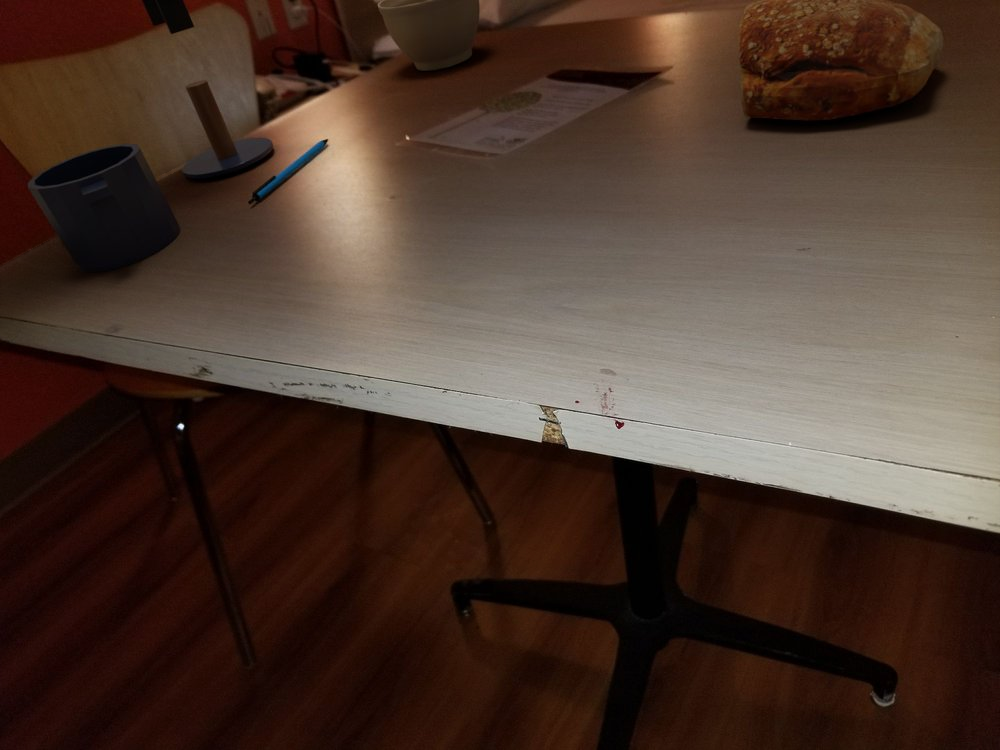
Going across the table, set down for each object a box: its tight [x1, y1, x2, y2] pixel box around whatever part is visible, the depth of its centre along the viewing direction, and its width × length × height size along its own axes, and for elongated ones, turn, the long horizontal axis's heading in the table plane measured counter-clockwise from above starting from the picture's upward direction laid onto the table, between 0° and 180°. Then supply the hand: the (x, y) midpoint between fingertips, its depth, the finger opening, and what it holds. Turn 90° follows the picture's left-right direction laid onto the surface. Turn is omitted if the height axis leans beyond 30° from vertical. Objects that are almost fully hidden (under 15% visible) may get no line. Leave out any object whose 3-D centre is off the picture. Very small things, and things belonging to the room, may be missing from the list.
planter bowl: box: [377, 0, 481, 72], centre depth 118 cm, size 16×16×11 cm
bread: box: [737, 0, 945, 122], centre depth 72 cm, size 20×18×10 cm
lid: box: [181, 79, 274, 179], centre depth 96 cm, size 12×12×11 cm
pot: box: [27, 143, 181, 273], centre depth 79 cm, size 11×17×10 cm
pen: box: [247, 138, 329, 205], centre depth 90 cm, size 1×19×1 cm, turn 162°
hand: (172, 26), depth 89 cm, fingers open, 13 cm apart
